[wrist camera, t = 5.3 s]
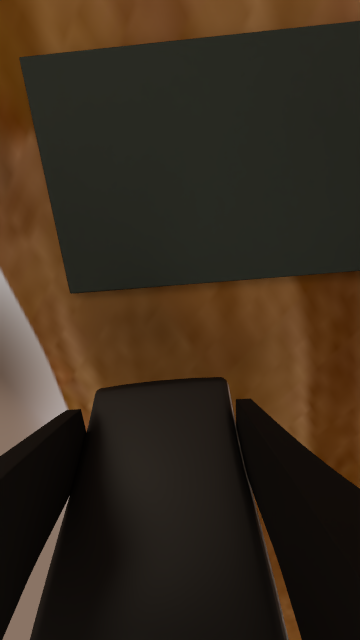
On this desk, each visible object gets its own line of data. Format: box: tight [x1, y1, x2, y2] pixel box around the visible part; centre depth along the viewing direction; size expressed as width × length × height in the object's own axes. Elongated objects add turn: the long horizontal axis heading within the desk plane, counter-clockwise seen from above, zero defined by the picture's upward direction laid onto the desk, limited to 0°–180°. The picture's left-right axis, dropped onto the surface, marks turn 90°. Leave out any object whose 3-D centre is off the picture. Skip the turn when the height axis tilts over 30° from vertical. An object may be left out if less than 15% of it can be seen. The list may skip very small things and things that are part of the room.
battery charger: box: [30, 377, 289, 640], centre depth 7 cm, size 7×4×11 cm
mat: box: [20, 21, 360, 293], centre depth 11 cm, size 20×12×1 cm, turn 94°
